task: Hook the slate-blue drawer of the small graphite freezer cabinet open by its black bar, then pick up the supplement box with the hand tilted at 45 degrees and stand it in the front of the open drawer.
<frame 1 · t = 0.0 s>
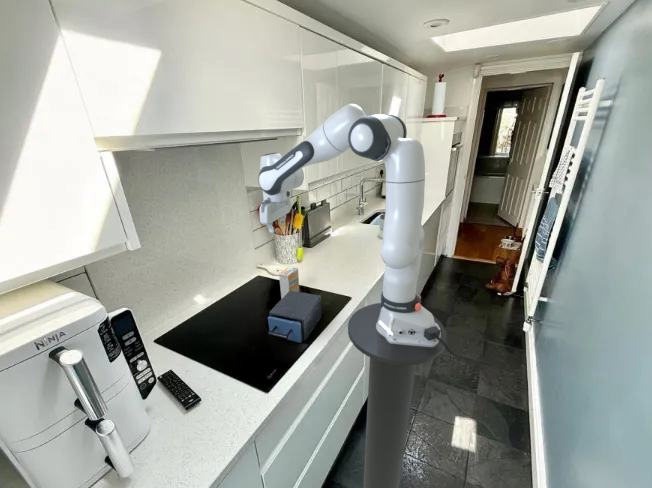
hand: (277, 228, 130), 30 cm above the worktop, tool pointing down, fingers open, 8 cm apart
freezer: (297, 324, 119), on the worktop
coffee can: (386, 237, 204), on the worktop
drawer: (290, 322, 113), point 5 cm above the worktop, slide at 1.0 cm
supplement box: (290, 297, 138), on the worktop
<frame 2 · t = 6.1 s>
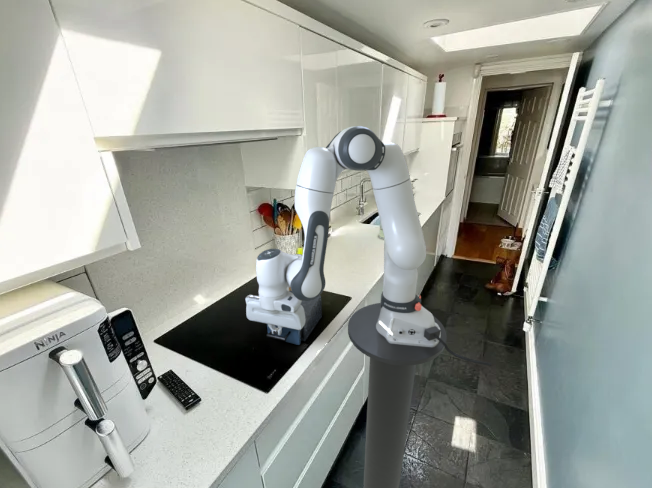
hand: (276, 333, 104), 6 cm above the worktop, tool pointing down, fingers closed, pressing on drawer
drawer: (289, 323, 112), point 5 cm above the worktop, slide at 2.2 cm, touching gripper
everything else where it was.
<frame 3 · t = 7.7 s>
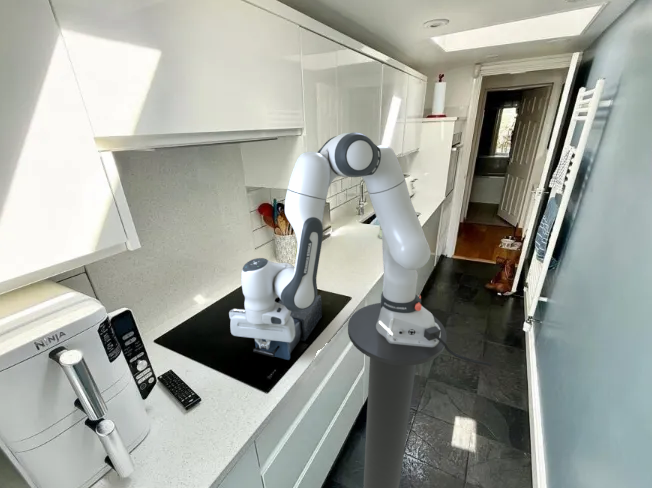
hand: (264, 347, 98), 6 cm above the worktop, tool pointing down, fingers closed
drawer: (278, 337, 105), point 5 cm above the worktop, slide at 10.2 cm, touching gripper
everything else where it was.
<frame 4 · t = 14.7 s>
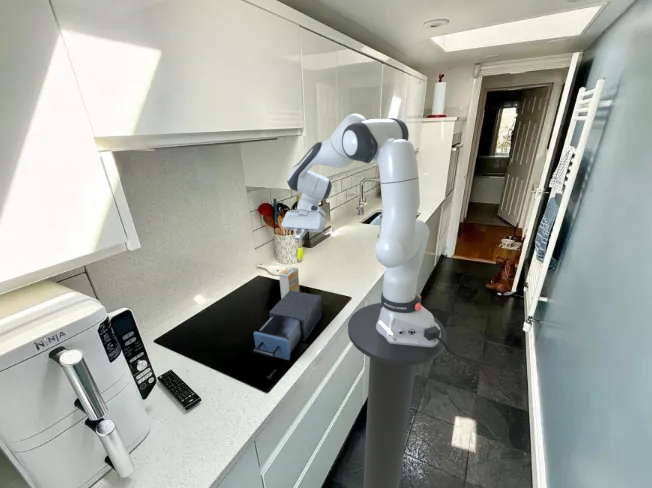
hand: (297, 239, 132), 25 cm above the worktop, tool tilted 40°, fingers closed
drawer: (278, 337, 105), point 5 cm above the worktop, slide at 10.3 cm
everything else where it was.
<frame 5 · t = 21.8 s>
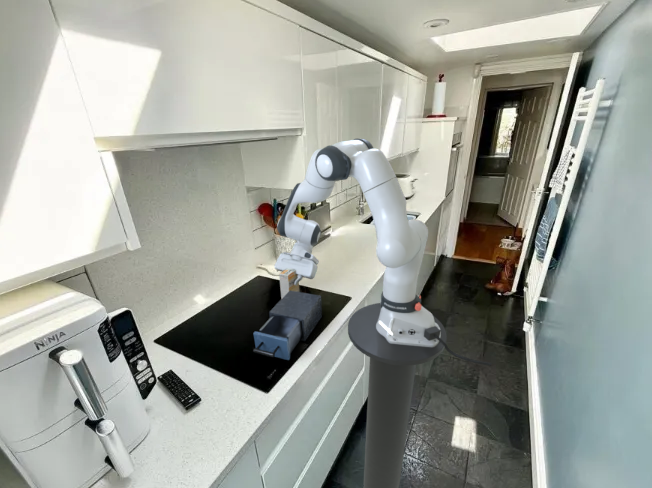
hand: (288, 283, 134), 7 cm above the worktop, tool tilted 45°, fingers closed on supplement box, 5 cm apart
supplement box: (290, 297, 138), on the worktop, touching gripper
everything else where it was.
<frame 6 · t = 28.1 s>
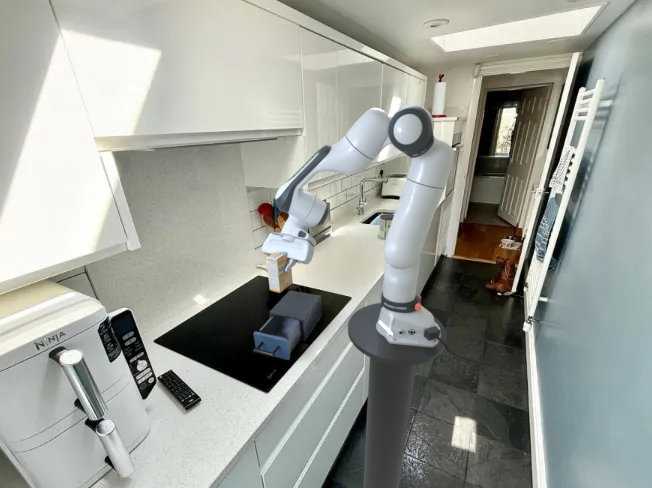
hand: (278, 270, 108), 24 cm above the worktop, tool tilted 45°, fingers closed on supplement box, 5 cm apart
supplement box: (281, 287, 112), point 17 cm above the worktop, touching gripper
everything else where it was.
when the fingers open (9 cm above the worktop, at t = 34.8 s): supplement box stays where it is, resting on drawer.
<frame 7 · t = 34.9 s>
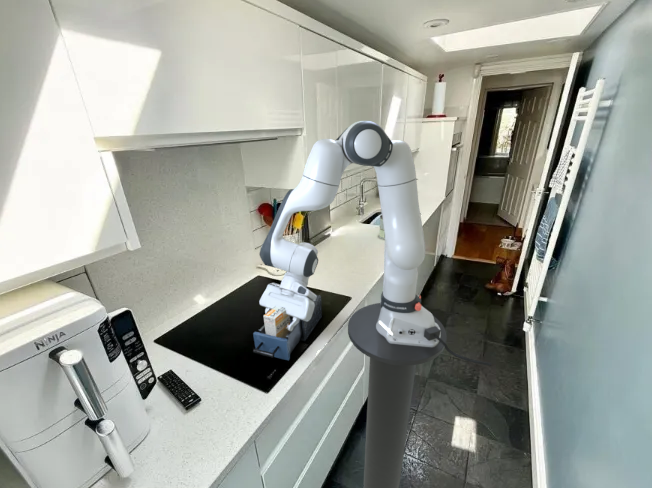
hand: (277, 326, 103), 9 cm above the worktop, tool tilted 45°, fingers open, 8 cm apart
drawer: (278, 337, 105), point 5 cm above the worktop, slide at 10.5 cm, touching supplement box
supplement box: (279, 343, 107), point 2 cm above the worktop, touching drawer
everything else where it was.
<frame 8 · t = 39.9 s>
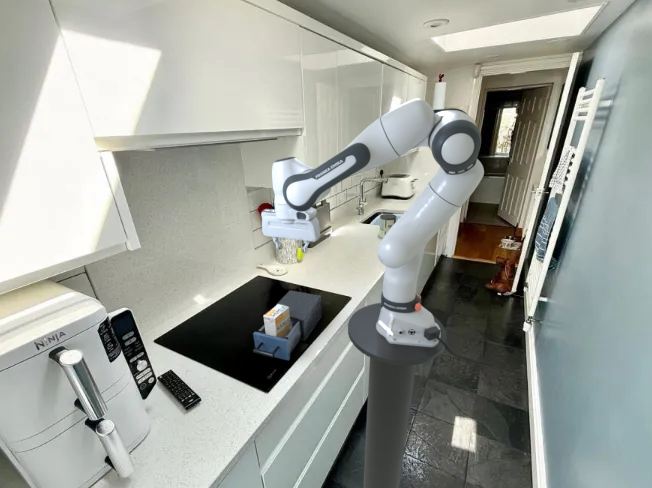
hand: (291, 250, 105), 31 cm above the worktop, tool pointing down, fingers open, 8 cm apart
nothing on the worktop moved.
at the end: drawer slide at 10.5 cm; supplement box inside the target area in the drawer (0.6 cm from its centre), point 1.8 cm above the freezer's base; supplement box tilted 0° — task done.
